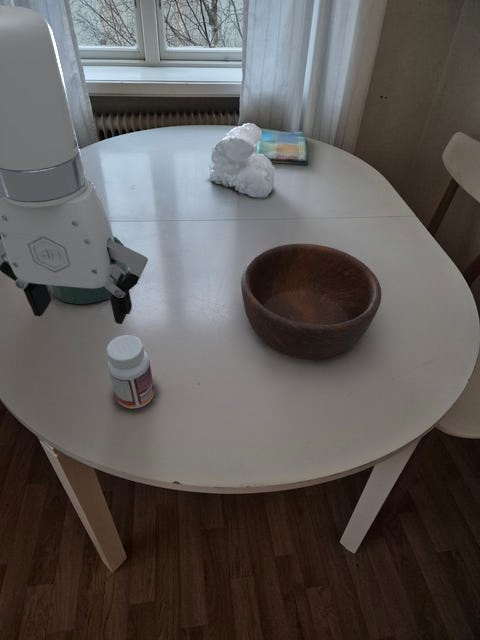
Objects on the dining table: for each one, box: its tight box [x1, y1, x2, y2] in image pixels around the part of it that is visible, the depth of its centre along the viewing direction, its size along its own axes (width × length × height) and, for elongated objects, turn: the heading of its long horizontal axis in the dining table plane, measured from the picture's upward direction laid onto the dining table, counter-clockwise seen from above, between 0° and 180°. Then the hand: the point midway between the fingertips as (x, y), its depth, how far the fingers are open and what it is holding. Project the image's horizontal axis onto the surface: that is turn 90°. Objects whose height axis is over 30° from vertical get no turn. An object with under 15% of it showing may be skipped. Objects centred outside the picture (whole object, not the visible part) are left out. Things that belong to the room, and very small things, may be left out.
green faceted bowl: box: [48, 235, 130, 305], centre depth 89 cm, size 16×16×7 cm
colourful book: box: [256, 129, 309, 166], centre depth 145 cm, size 17×23×2 cm
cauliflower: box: [209, 122, 276, 199], centre depth 122 cm, size 19×20×20 cm
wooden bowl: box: [240, 243, 382, 360], centre depth 80 cm, size 25×25×10 cm
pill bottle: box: [106, 334, 155, 409], centre depth 66 cm, size 6×6×11 cm
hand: (83, 312), depth 51 cm, fingers open, 9 cm apart
